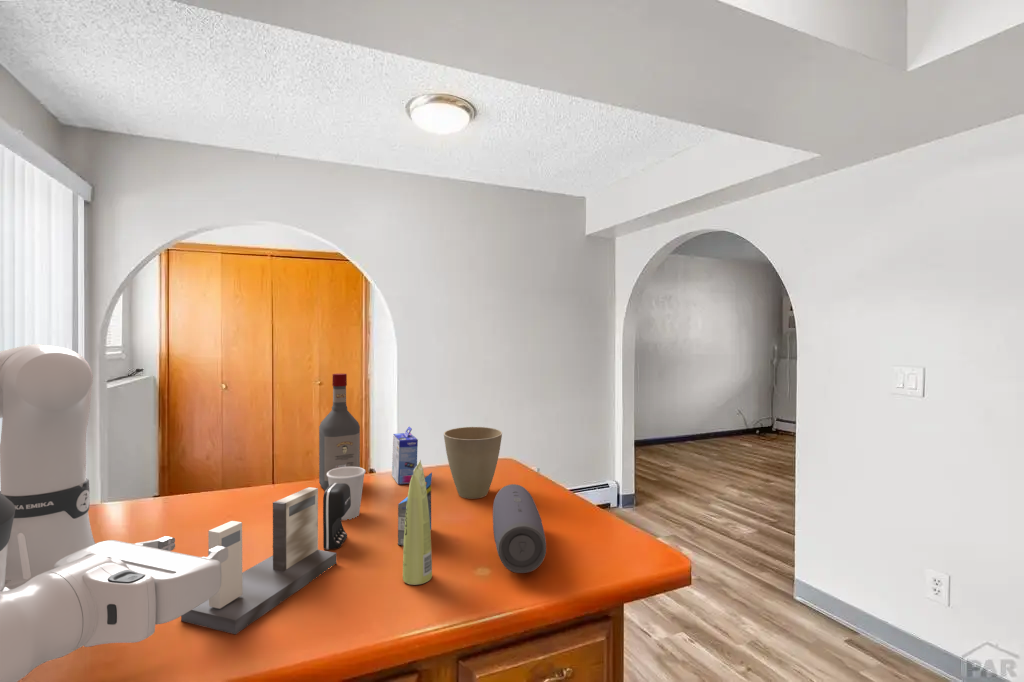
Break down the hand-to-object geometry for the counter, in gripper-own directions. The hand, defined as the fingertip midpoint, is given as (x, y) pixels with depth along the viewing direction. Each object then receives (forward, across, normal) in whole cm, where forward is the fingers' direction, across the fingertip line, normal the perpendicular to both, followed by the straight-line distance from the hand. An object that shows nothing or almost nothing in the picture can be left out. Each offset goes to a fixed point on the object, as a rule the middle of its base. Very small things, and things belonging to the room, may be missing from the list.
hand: (197, 546), depth 69 cm
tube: (+24, +21, -13) cm, 34 cm away
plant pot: (+67, +14, -13) cm, 70 cm away
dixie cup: (+44, -8, -13) cm, 47 cm away
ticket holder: (+13, 0, -13) cm, 18 cm away
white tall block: (+5, -1, -10) cm, 11 cm away
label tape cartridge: (+39, +12, -13) cm, 43 cm away
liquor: (+61, -22, -13) cm, 67 cm away
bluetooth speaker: (+40, +34, -13) cm, 54 cm away
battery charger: (+31, -1, -13) cm, 34 cm away
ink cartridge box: (+72, -9, -13) cm, 74 cm away
